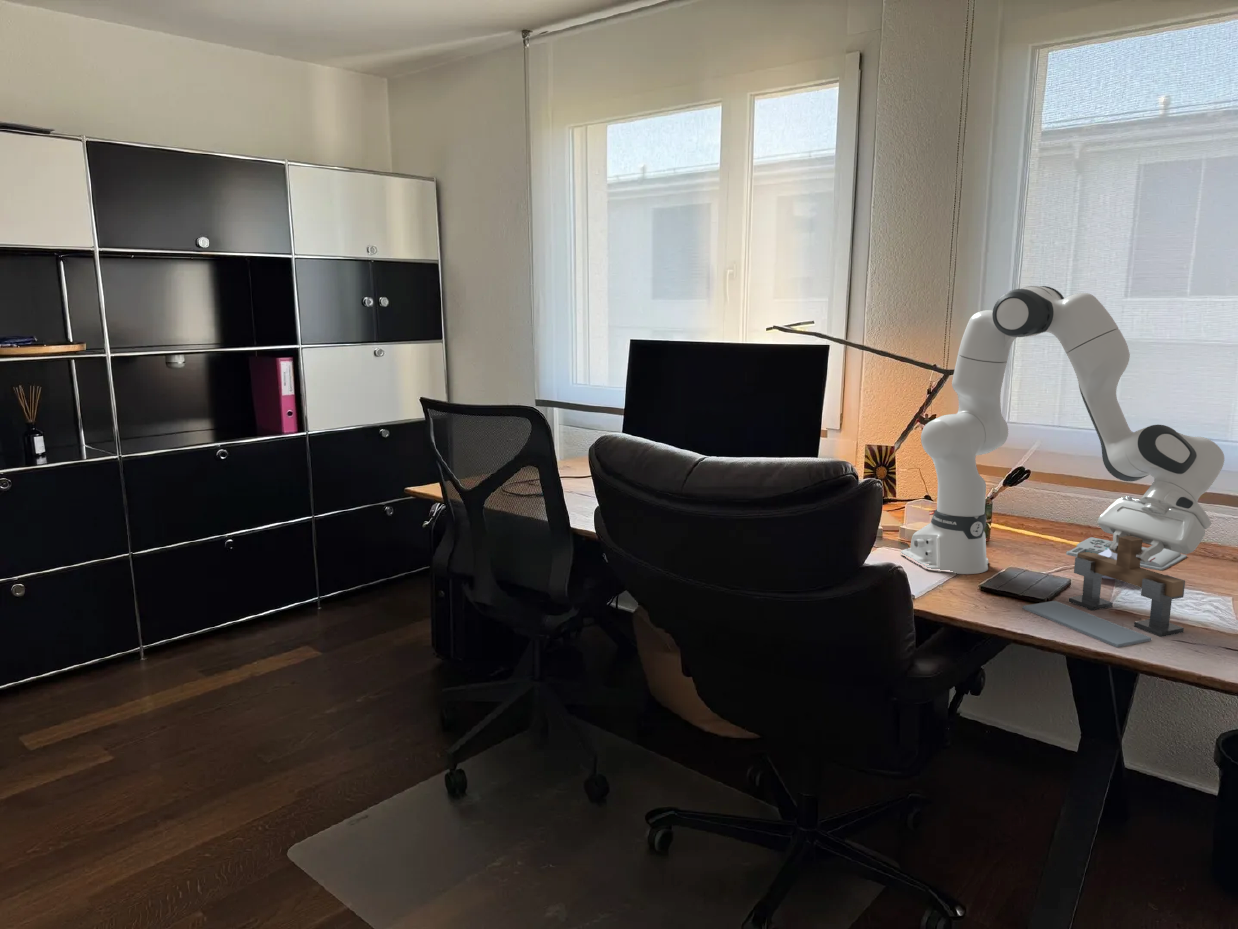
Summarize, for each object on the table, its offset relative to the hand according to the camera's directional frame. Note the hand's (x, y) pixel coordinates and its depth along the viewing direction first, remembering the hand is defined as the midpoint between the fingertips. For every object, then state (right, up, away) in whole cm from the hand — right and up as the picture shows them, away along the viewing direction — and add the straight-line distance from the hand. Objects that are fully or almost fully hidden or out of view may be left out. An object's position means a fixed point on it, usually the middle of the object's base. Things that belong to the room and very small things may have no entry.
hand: (1126, 555), depth 175 cm
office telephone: (+26, -6, +45) cm, 53 cm away
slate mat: (-10, -14, -1) cm, 17 cm away
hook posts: (+1, -13, +3) cm, 13 cm away
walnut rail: (+1, -5, +1) cm, 5 cm away
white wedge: (+13, -8, +29) cm, 33 cm away
